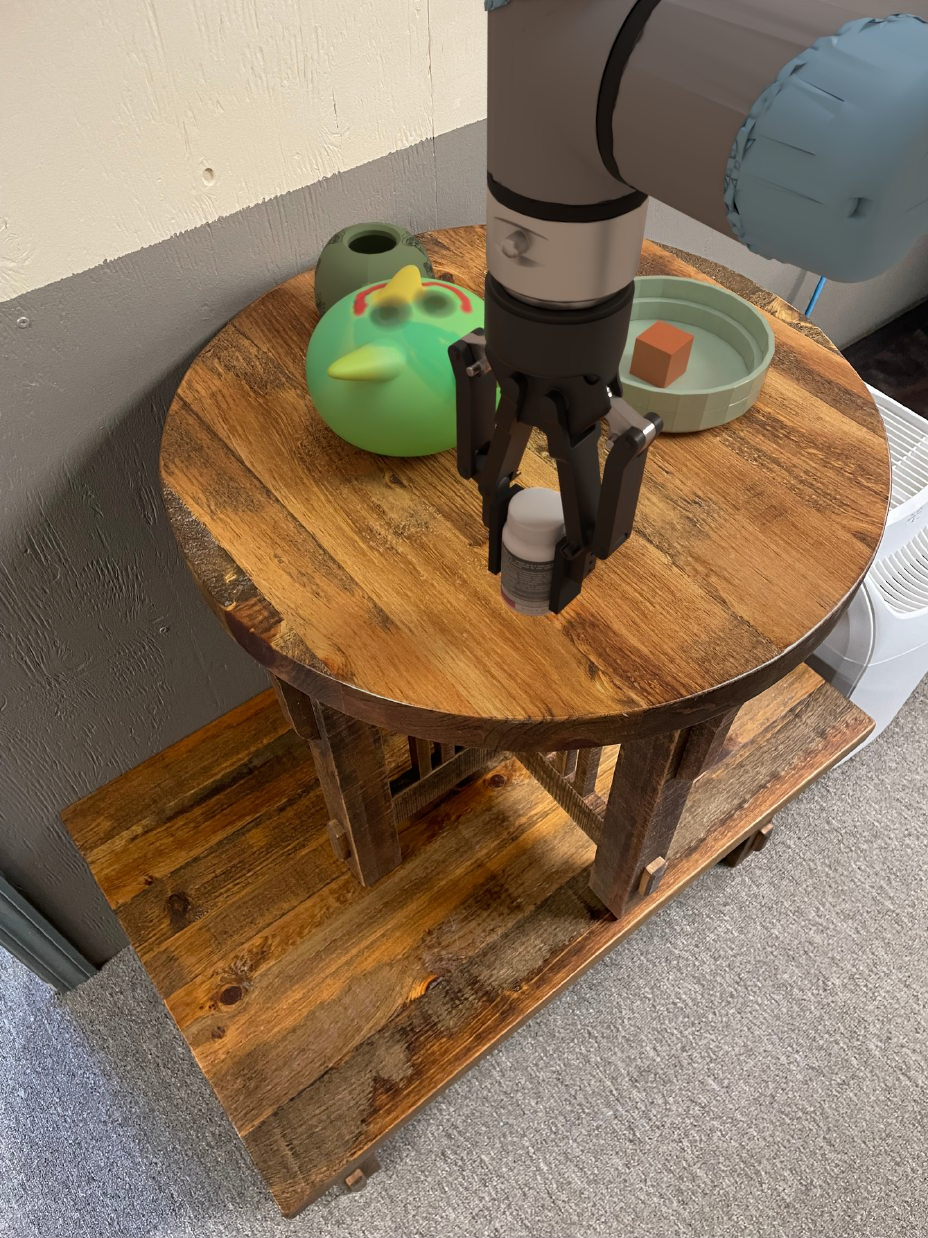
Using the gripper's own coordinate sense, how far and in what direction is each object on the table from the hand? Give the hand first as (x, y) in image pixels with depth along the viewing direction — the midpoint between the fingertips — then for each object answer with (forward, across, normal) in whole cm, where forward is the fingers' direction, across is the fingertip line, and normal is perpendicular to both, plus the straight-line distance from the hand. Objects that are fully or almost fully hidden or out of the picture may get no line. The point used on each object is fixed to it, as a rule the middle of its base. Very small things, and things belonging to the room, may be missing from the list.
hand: (533, 580), depth 61 cm
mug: (+6, -38, +21) cm, 43 cm away
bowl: (+6, -10, +34) cm, 36 cm away
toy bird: (+6, -22, +11) cm, 26 cm away
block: (+5, -10, +33) cm, 35 cm away
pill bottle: (+1, 0, 0) cm, 1 cm away
